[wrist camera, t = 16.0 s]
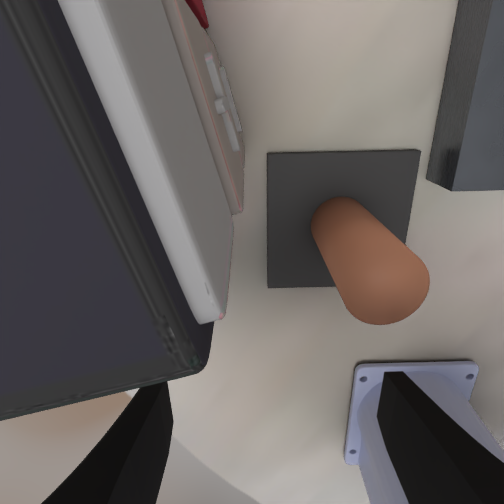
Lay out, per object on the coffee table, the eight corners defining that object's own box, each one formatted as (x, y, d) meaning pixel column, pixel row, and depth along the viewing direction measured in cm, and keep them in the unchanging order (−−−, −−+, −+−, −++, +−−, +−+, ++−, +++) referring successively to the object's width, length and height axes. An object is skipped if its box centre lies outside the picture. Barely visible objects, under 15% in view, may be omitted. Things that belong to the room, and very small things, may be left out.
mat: (394, 280, 21) (398, 284, 20) (267, 283, 21) (267, 288, 20) (416, 149, 18) (421, 150, 17) (267, 152, 18) (267, 154, 17)
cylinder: (365, 249, 19) (423, 322, 13) (310, 251, 19) (340, 326, 13) (369, 195, 18) (436, 246, 12) (310, 198, 18) (344, 251, 12)
